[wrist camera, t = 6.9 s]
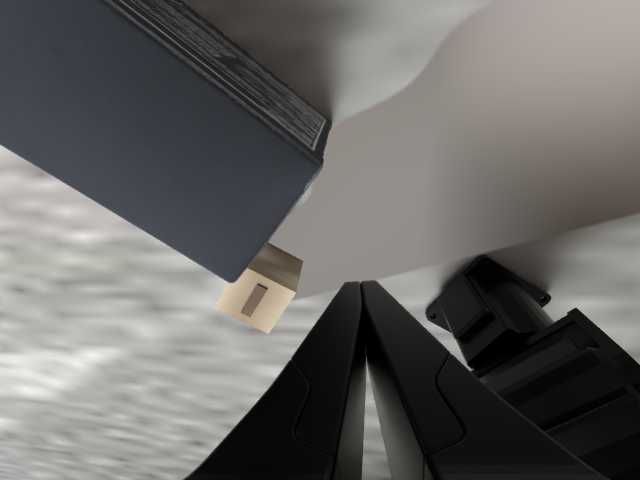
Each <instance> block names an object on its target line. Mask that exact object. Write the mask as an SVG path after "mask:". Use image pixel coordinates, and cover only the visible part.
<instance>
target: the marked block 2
mask: <svg viewBox="0 0 640 480" xmlns="http://www.w3.org/2000/svg"><path fill="white" fill-rule="evenodd" d="M302 263H303V261H302V260H300V259H298V258H296V257H294V256H292V255H291V254H289V253H287V252H285V251H283V250H281V249H279V248H277V247H275V246H274V245H272V244H270V243H268V242H267V243H266V245H265V246H264V247H263V249H262V250H261V251H260V252H259V254H258V255H257V256H256V258H255V259H254V260H253V261H252V263H251V264H250V266H249V267H248V268H247V269H246V270H245V272H244V273H243V274H242V275H241V276H240V278H239V279H238V280H237V281H236V282H235V283H232V284H231V283H227V285H226V287H225V289H224V291H223V293H222V295H221V296H220V298H219V300H218V302H217V304H216V306H215V308H216V309H218V310H220V311H222V312H224V313H226V314H228V315H230V316H232V317H234V318H237V319H239V320H241V321H243V322H245V323H247V324H249V325H251V326H253V327H256V328H258V329H260V330H262V331H264V332H266V333H269V332H270V331H271V329H272V328H273V326H274V325H275V323H276V322H277V320H278V319H279V317H280V316H281V314H282V313H283V311H284V310H285V308H286V307H287V305H288V304H289V302H290V301H291V299H292V298H293V296H294V295H295V293H296V290H297V285H298V281H299V276H300V272H301V268H302Z"/></svg>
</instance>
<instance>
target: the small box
mask: <svg viewBox="0 0 640 480" xmlns="http://www.w3.org/2000/svg"><path fill="white" fill-rule="evenodd" d="M331 127H332V123H331V121H329V120H328V119H327V118H325V117H324V116H323V115H322V114H321V113H319V112H318V111H317V110H316V109H315V108H314V107H312V106H311V105H310V104H308V103H307V102H306V101H305V100H304V99H302V98H301V97H300V96H299V95H297V94H296V93H295V92H294V91H292V90H291V89H290V88H289V87H288V86H287V85H286V84H284V83H283V82H281V81H280V80H279V79H278V78H276V77H275V76H274V75H273V74H272V73H270V72H269V71H268V70H266V69H265V68H264V67H263V66H262V65H260V64H259V63H258V62H257V61H256V60H254V59H253V58H252V57H251V56H249V55H248V53H247V52H246V51H244V50H243V49H241V48H240V47H239V46H238V45H237V44H235V43H234V42H232V41H231V40H230V39H229V38H228V37H226V36H225V35H224V34H223V33H222V32H220V31H219V30H218V29H216V28H215V27H214V26H213V25H211V24H210V23H208V22H207V21H206V20H205V19H203V18H202V17H201V16H200V15H198V14H197V13H196V12H194V11H193V10H192V9H191V8H189V7H188V6H187V5H186V4H185V3H184V2H183V1H181V0H0V145H2V146H3V147H5V148H7V149H8V150H10V151H12V152H13V153H15V154H17V155H18V156H20V157H22V158H23V159H25V160H27V161H28V162H30V163H32V164H34V165H35V166H37V167H39V168H40V169H42V170H44V171H45V172H47V173H49V174H50V175H52V176H54V177H55V178H57V179H59V180H60V181H62V182H64V183H65V184H67V185H69V186H70V187H72V188H74V189H75V190H77V191H79V192H80V193H82V194H84V195H85V196H87V197H88V198H90V199H92V200H93V201H95V202H97V203H98V204H100V205H102V206H103V207H105V208H107V209H108V210H110V211H112V212H113V213H115V214H117V215H118V216H120V217H122V218H123V219H125V220H127V221H128V222H130V223H132V224H133V225H135V226H137V227H138V228H140V229H141V230H143V231H145V232H146V233H148V234H150V235H151V236H153V237H155V238H156V239H158V240H160V241H161V242H163V243H165V244H166V245H168V246H170V247H171V248H173V249H175V250H176V251H178V252H179V253H181V254H183V255H184V256H186V257H188V258H189V259H191V260H193V261H194V262H196V263H197V264H199V265H201V266H202V267H204V268H206V269H207V270H209V271H211V272H212V273H214V274H215V275H217V276H219V277H220V278H222V279H224V280H225V281H227V282H228V283H231V284H232V283H235V282H236V281H237V280H238V279H239V278H240V276H241V275H242V274H243V273H244V272H245V270H246V269H247V268H248V267H249V266H250V264H251V263H252V261H253V260H254V259H255V258H256V256H257V255H258V254H259V252H260V251H261V250H262V249H263V247H264V246H265V245H266V243H267V242H268V241H269V240H270V238H271V237H272V235H273V234H274V232H275V231H276V230H277V229H278V227H279V226H280V225H281V223H282V222H283V221H284V219H285V218H286V217H287V215H288V214H289V213H290V211H291V210H292V209H293V207H294V206H295V205H296V203H297V202H298V201H299V199H300V198H301V197H302V195H303V194H304V193H305V191H306V190H307V189H308V187H309V186H310V184H311V183H312V182H313V180H314V179H315V178H316V177H317V175H318V174H319V172H320V171H321V169H322V167H323V161H324V159H323V155H324V153H323V152H324V149H325V146H326V142H327V138H328V134H329V131H330V129H331Z"/></svg>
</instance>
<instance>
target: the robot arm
mask: <svg viewBox="0 0 640 480" xmlns="http://www.w3.org/2000/svg"><path fill="white" fill-rule="evenodd" d="M483 261H487V262H486V263H485V264H482V262H483ZM541 297H543V298H542V299H540V298H541ZM550 300H551V296H550V295H549V294H548V293H547V292H546V291H545V290H543V289H541V288H540V287H538V286H536V285H535V284H533V283H532V282H530V281H528V280H527V279H525V278H523V277H522V276H520V275H519V274H517V273H515V272H514V271H512V270H510V269H509V268H507V267H506V266H504V265H502V264H501V263H499V262H497V261H496V260H494V259H493V258H491V257H489V256H487V255H481V256H479V257H478V258H477V259H476V260H475V261H474V262H473V263H472V264H471V265H470V266H469V267H468V268H467V269H466V270H465V271H464V272H463V273H462V274H461V275H460V276H458V278H457V279H456V280H455V281H454V282H453V283H452V284H451V285H450V286H449V287H448V288H447V289H446V290H445V291H444V292H443V293H442V294H441V295H440V296H439V297H438V299H437V300H436V301H435V302H434V303H433V304H432V305H431V306H430V308H429V309H428V310H427V311H426V313H425V314H426V317H427V319H428V320H429V321H430V322H432V323H434V324H436V325H438V326H440V327H441V328H443V329H445V330H447V331H449V332H451V333H452V335H453V337H454V338H455V339H456V341H457V343H458V345H459V348H460V350H461V352H462V354H463V356H464V359H465V361H466V363H467V365H468V366H469V367H470V368H471V370H472V371H469V370H468V369H467V368H466V367H465V366H464V365H463V364H462V363H461V362H460V361H459V360H458V359H457V358H456V357H455V356H454V355H452V354H450V352H449V351H448V350H447V349H446V348H445V347H444V346H443V345H442V344H441V343H440V342H439V341H438V340H437V339H436V338H435V337H434V336H433V335H432V334H431V333H430V332H429V331H428V330H427V329H426V328H424V327H423V326H422V325H421V324H420V323H419V322H418V321H417V320H416V319H415V318H414V317H413V316H412V315H411V314H410V313H409V312H408V311H407V310H406V309H405V308H404V307H403V306H402V305H401V304H400V303H399V302H398V301H397V300H395V299H394V298H393V297H392V296H391V295H390V294H389V293H388V292H387V291H386V290H385V289H384V288H383V287H382V286H381V285H380V284H379V283H378V282H377V281H375V280H371V281H362V282H361V285H360V282H358V281H356V282H346V283H344V285H343V286H342V287H341V289H340V290H339V291H338V293H337V294H336V296H335V297H334V298H333V300H332V301H331V303H330V304H329V306H328V307H327V308H326V310H325V311H324V313H323V314H322V315H321V317H320V318H319V320H318V321H317V322H316V324H315V325H314V327H313V328H312V330H311V331H310V332H309V334H308V335H307V337H306V338H305V339H304V341H303V342H302V344H301V345H300V346H299V348H298V349H297V351H296V352H295V353H294V355H293V356H292V358H291V360H289V362H288V363H287V364H286V366H285V367H284V369H283V370H282V372H281V373H280V374H279V375H278V377H277V378H276V379H275V381H274V382H273V383H272V385H271V386H270V387H269V389H268V390H267V391H266V392H265V393H264V394H263V396H262V397H261V398H260V399H259V400H258V401H257V403H256V404H255V405H254V406H253V407H252V408H251V410H250V411H249V412H248V413H247V414H246V415H245V416H244V417H243V418H242V420H241V421H240V422H239V423H238V424H237V425H236V426H235V427H234V428H233V429H232V431H231V432H230V433H229V434H228V435H227V436H226V437H225V438H224V439H223V441H222V442H221V443H220V444H219V445H218V446H217V447H216V448H215V449H214V451H213V452H212V453H211V454H210V455H209V456H208V457H207V458H206V459H205V460H204V461H203V462H202V463H201V464H200V465H199V466H198V467H197V468H196V469H195V470H194V471H193V472H192V473H191V474H189V475H188V476H187V477H186V478H184V479H183V480H362V458H363V436H364V413H365V391H366V358H367V366H368V371H369V376H370V380H371V385H372V389H373V394H374V399H375V403H376V408H377V412H378V417H379V422H380V426H381V431H382V435H383V440H384V444H385V449H386V454H387V458H388V463H389V467H390V472H391V476H392V480H640V365H639V364H638V363H637V362H636V361H635V360H634V359H633V358H632V357H631V356H630V355H629V354H628V353H627V352H625V351H624V350H623V349H622V348H621V347H620V346H619V345H618V344H617V343H615V342H614V341H613V340H612V339H611V338H610V337H609V336H608V335H606V334H605V333H604V332H603V331H602V330H601V329H600V328H599V327H597V326H596V325H595V324H594V323H593V322H592V321H591V320H589V319H588V318H587V317H586V316H585V315H584V314H583V313H582V312H580V311H579V310H578V309H577V308H574V309H573V310H571V311H569V312H568V313H567V314H568V315H567V316H565V317H563V318H561V319H560V320H558V321H556V322H554V321H553V320H552V319H551V317H550V316H549V315H548V314H547V313H546V312H545V311H544V310H543V309H542V308H543V307H544V306H545V305H546V304H547V303H549V301H550ZM431 314H435V315H433V316H430V315H431Z"/></svg>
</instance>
